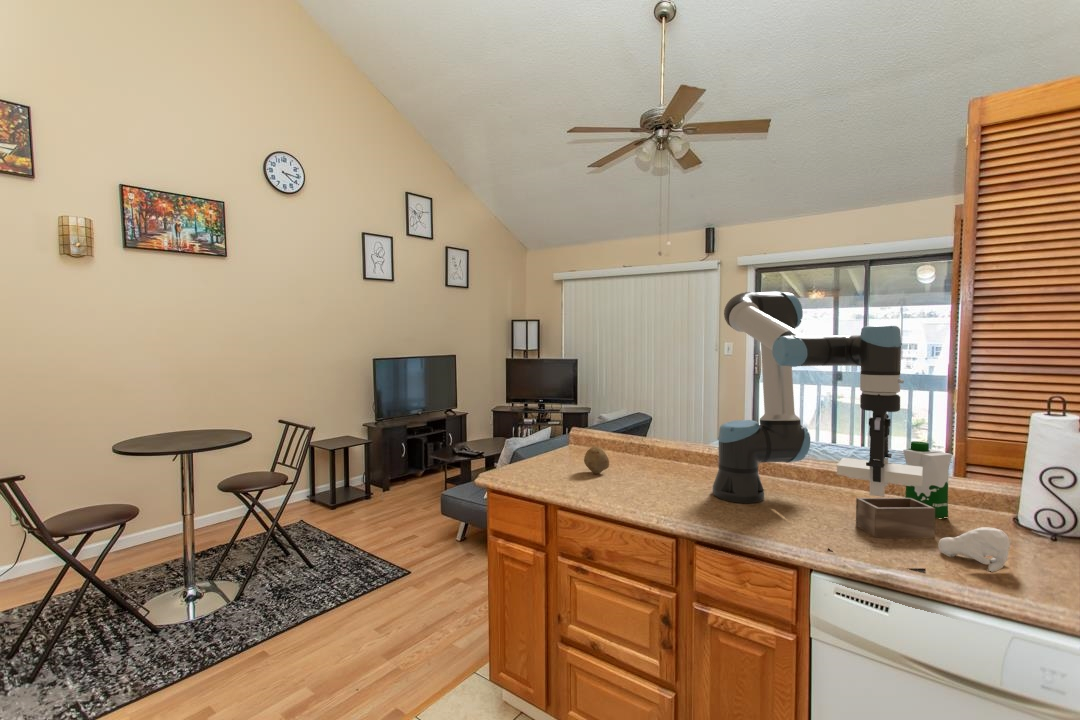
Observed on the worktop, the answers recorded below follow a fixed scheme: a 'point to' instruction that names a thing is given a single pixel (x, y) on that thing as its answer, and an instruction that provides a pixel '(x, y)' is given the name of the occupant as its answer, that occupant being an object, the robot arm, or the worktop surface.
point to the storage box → (895, 517)
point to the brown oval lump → (596, 460)
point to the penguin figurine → (979, 546)
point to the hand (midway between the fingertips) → (878, 490)
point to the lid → (892, 472)
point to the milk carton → (930, 476)
